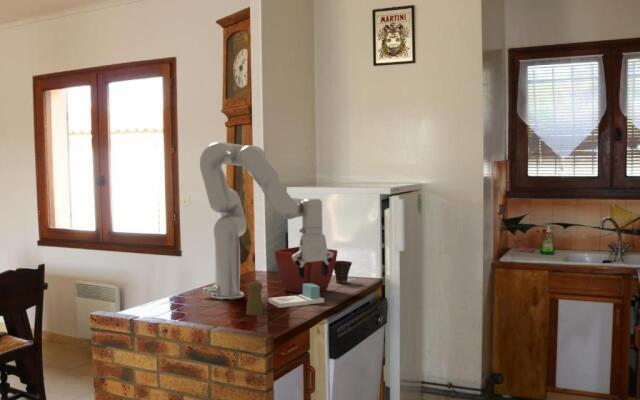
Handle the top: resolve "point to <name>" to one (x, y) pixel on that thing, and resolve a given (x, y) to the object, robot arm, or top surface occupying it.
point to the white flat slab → (288, 301)
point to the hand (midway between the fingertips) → (313, 276)
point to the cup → (342, 271)
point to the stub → (311, 293)
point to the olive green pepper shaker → (254, 299)
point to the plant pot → (311, 271)
